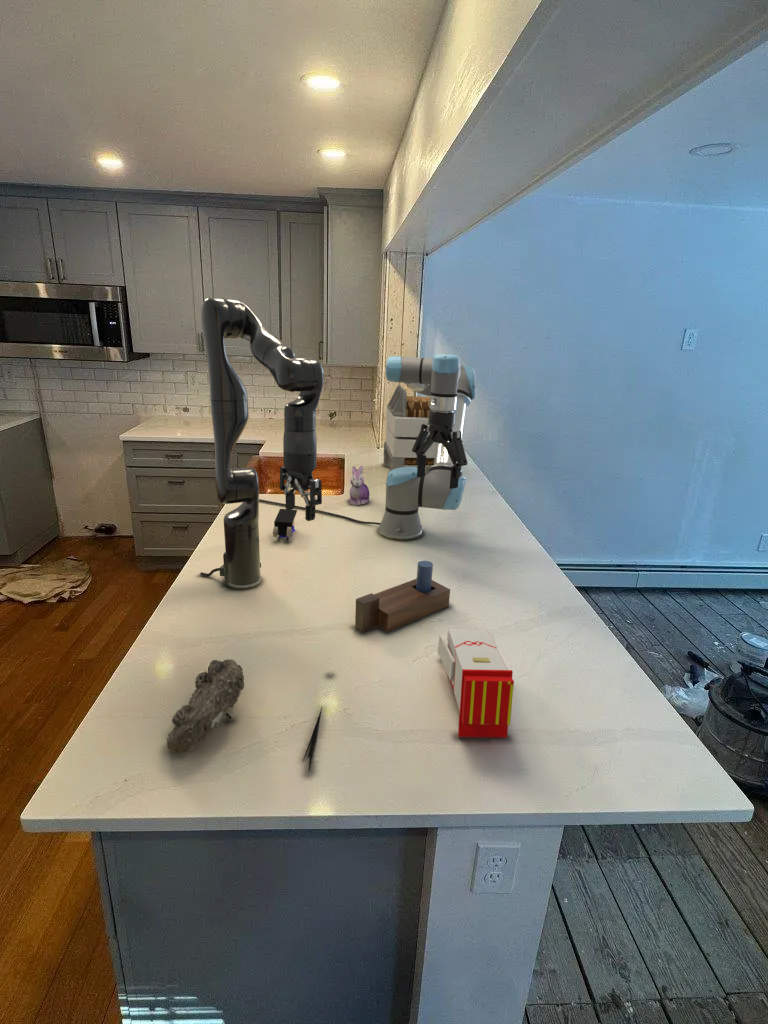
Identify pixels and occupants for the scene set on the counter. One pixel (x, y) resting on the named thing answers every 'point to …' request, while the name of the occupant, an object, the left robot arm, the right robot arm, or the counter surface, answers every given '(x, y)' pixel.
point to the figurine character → (284, 524)
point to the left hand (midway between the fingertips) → (300, 514)
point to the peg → (424, 576)
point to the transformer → (406, 429)
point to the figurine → (358, 488)
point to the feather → (313, 740)
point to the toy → (478, 682)
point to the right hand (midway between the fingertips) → (436, 482)
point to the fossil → (206, 705)
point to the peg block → (399, 606)
